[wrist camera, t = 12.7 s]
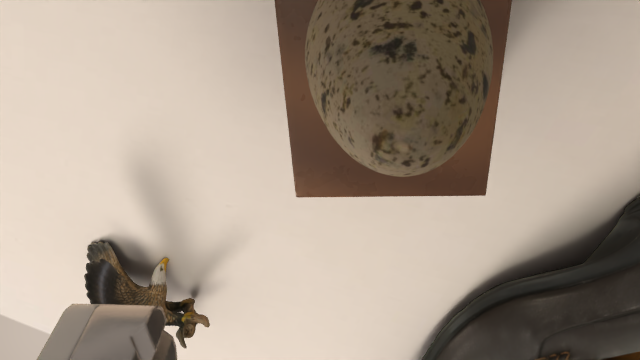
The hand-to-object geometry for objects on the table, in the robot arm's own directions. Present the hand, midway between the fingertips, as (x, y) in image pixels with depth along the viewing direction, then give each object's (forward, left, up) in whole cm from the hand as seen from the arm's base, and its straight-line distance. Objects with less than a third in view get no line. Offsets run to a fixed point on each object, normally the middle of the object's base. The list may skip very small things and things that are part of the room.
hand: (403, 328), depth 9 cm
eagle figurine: (+22, -17, -23) cm, 36 cm away
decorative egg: (0, 0, -15) cm, 15 cm away
